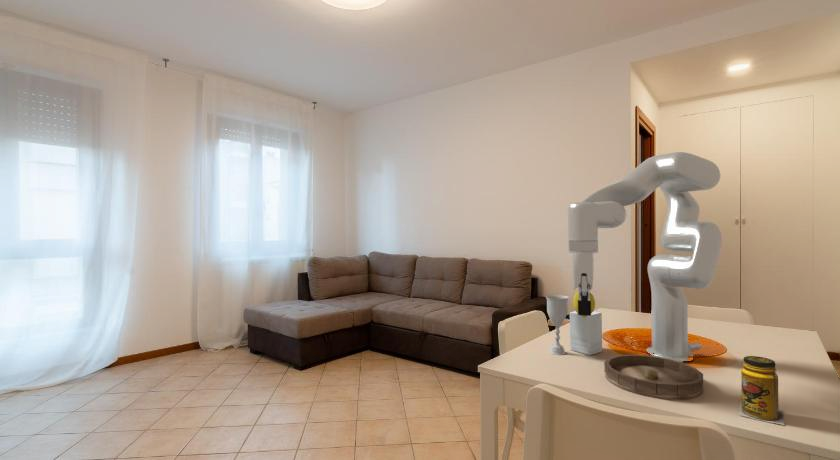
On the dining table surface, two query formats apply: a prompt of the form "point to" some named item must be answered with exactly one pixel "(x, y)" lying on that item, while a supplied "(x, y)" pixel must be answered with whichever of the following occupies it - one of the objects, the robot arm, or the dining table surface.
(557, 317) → the chalice
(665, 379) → the groove tray
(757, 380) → the condiment
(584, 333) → the supplement box
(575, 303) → the lemon
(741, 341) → the dining table surface
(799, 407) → the dining table surface
